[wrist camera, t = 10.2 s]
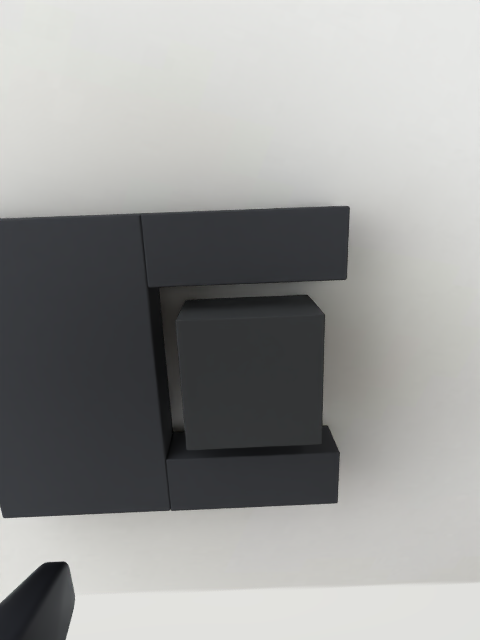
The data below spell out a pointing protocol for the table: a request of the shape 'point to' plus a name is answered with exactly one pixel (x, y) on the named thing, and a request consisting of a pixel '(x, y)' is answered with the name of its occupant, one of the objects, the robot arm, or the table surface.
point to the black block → (251, 371)
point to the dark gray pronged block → (139, 359)
